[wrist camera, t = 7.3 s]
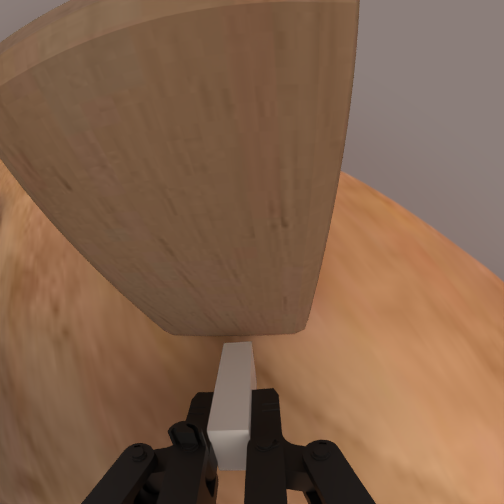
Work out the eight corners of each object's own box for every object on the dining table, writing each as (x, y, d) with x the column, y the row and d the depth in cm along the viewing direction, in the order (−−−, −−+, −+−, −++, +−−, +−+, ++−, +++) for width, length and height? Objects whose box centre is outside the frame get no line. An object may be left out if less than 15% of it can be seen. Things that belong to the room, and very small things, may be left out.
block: (165, 338, 20) (-59, 93, 3) (180, 224, 25) (88, -8, 8) (307, 336, 20) (379, -41, 2) (297, 217, 25) (297, -49, 8)
